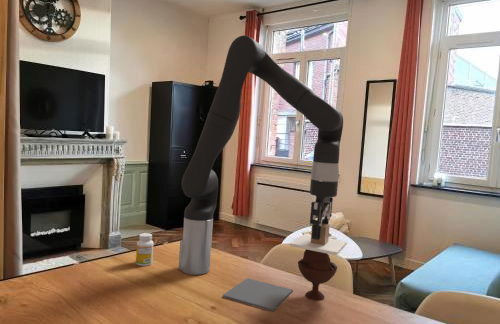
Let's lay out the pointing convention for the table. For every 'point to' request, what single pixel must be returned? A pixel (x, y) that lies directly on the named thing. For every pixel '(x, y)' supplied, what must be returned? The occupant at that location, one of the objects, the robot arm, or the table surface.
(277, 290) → the mat
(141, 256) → the supplement bottle
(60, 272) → the table surface
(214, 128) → the robot arm
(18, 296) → the table surface
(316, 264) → the ice cream bowl
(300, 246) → the lid
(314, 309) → the table surface
